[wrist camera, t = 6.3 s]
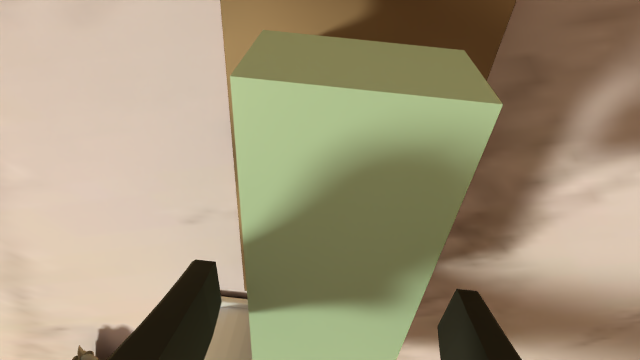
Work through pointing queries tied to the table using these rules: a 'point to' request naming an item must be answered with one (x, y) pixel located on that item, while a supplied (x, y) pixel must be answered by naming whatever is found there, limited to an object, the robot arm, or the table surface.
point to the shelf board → (349, 185)
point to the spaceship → (85, 355)
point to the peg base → (366, 30)
